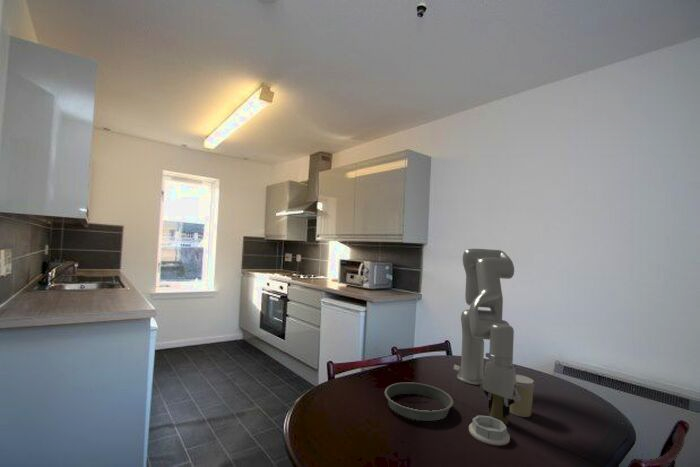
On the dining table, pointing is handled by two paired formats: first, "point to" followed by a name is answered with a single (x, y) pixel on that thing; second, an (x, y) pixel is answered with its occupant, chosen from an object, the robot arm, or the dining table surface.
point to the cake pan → (421, 390)
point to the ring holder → (489, 430)
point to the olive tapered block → (498, 408)
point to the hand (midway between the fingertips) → (498, 413)
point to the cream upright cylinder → (523, 396)
